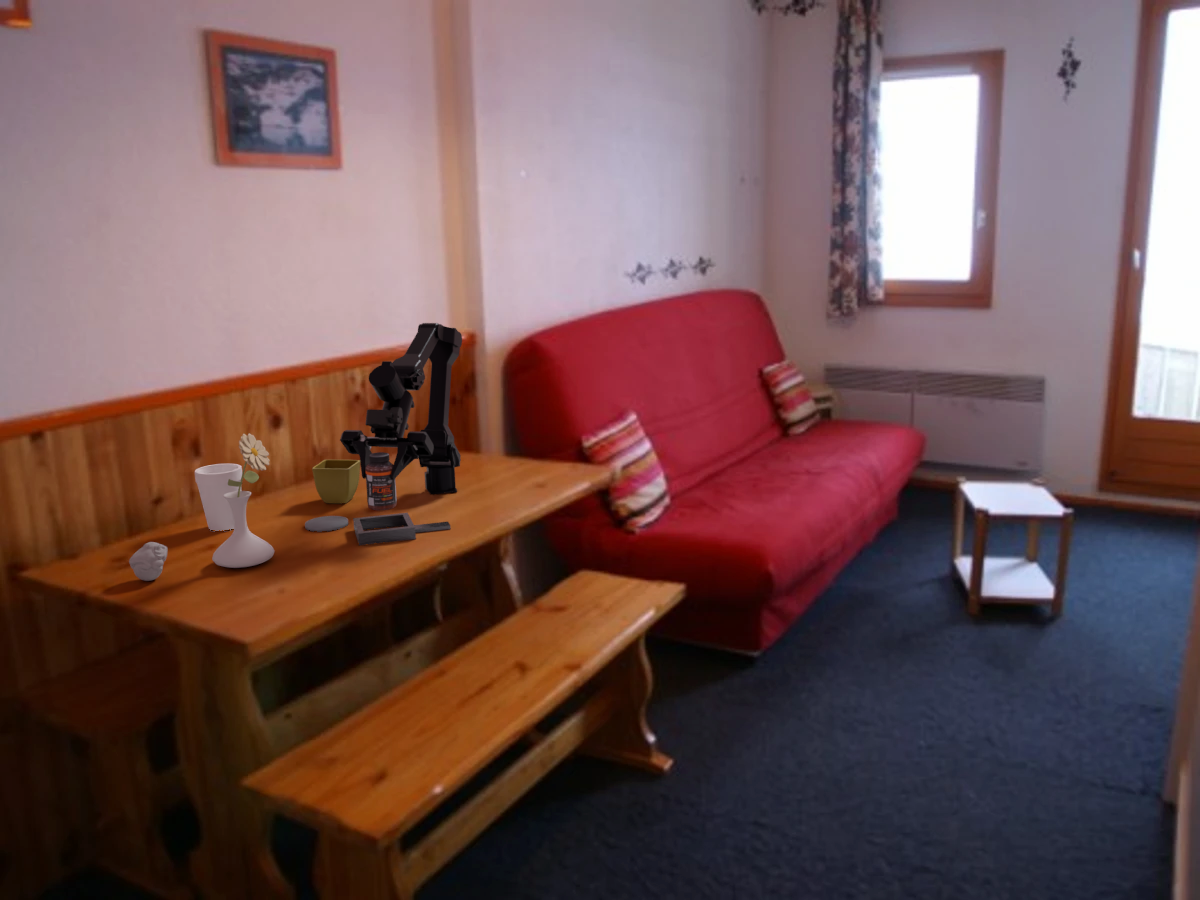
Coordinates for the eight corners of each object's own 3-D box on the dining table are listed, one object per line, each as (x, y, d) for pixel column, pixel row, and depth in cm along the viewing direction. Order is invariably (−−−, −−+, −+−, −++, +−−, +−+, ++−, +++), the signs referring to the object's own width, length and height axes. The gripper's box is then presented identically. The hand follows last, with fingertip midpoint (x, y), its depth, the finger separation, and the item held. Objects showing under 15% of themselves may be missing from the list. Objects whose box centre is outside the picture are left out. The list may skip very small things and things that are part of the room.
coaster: (346, 517, 228) (346, 514, 228) (350, 529, 220) (349, 525, 220) (304, 522, 225) (304, 518, 225) (306, 533, 217) (305, 530, 217)
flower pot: (363, 496, 245) (360, 459, 243) (351, 506, 237) (348, 468, 235) (327, 496, 246) (324, 459, 244) (314, 506, 238) (311, 468, 236)
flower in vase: (240, 577, 192) (226, 445, 186) (200, 567, 198) (185, 439, 192) (294, 556, 203) (283, 432, 197) (255, 547, 209) (243, 426, 203)
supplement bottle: (372, 513, 210) (368, 459, 208) (364, 505, 216) (360, 453, 213) (400, 508, 213) (397, 455, 210) (392, 501, 218) (388, 449, 216)
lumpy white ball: (177, 578, 192) (172, 542, 190) (140, 588, 187) (135, 551, 185) (161, 571, 196) (157, 535, 194) (125, 581, 191) (120, 545, 189)
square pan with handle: (444, 519, 225) (444, 508, 224) (454, 534, 214) (453, 523, 214) (354, 529, 219) (353, 518, 219) (359, 545, 209) (358, 533, 208)
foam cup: (256, 523, 225) (251, 465, 222) (225, 535, 217) (218, 475, 214) (223, 519, 229) (217, 462, 226) (191, 530, 221) (184, 471, 218)
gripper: (340, 392, 214) (320, 456, 207) (425, 393, 211) (408, 459, 203) (359, 421, 224) (340, 484, 216) (440, 423, 220) (425, 487, 212)
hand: (377, 478), depth 211 cm, fingers closed on supplement bottle, 6 cm apart
